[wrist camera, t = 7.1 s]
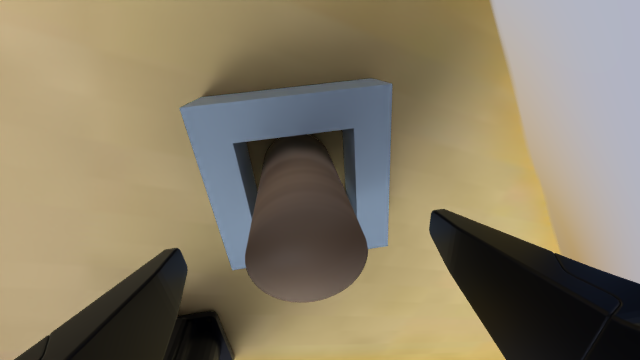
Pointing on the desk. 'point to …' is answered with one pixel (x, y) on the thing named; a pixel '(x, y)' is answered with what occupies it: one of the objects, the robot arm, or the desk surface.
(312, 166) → the peg
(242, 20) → the desk surface
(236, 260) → the socket
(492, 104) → the desk surface
